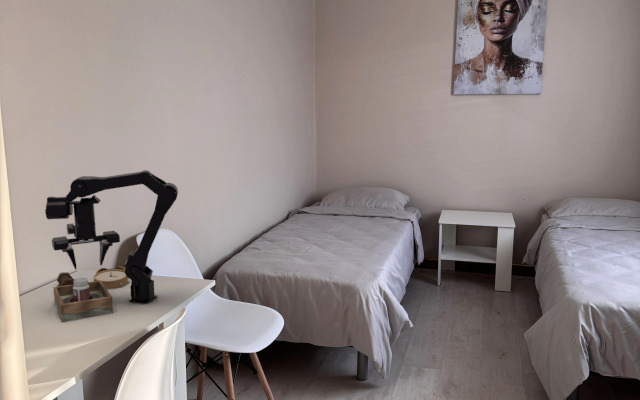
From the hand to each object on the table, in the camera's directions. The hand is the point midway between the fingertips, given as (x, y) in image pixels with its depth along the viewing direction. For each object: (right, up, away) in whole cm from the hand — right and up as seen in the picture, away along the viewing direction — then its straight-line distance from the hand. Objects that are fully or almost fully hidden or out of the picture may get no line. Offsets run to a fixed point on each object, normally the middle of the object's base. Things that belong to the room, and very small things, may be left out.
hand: (88, 266), depth 166 cm
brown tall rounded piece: (-15, -9, +17) cm, 24 cm away
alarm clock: (-1, -9, +22) cm, 24 cm away
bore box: (-1, -12, -2) cm, 12 cm away
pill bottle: (-2, -12, 0) cm, 12 cm away
